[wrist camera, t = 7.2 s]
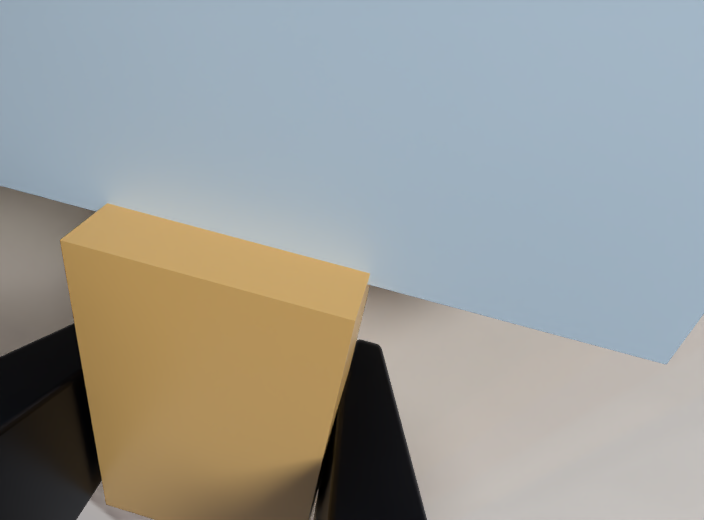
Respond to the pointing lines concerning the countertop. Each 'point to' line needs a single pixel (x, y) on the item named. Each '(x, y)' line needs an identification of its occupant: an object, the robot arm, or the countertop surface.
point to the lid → (341, 204)
